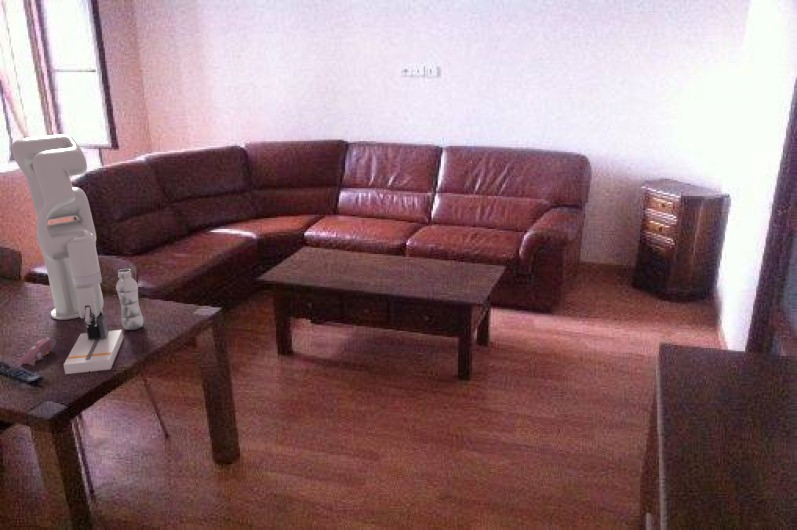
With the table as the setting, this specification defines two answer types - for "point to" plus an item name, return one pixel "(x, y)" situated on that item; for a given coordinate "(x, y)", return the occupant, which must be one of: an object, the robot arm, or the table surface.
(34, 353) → the pink toy car
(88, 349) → the fader console
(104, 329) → the fader tab
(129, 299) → the plastic bottle
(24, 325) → the table surface
